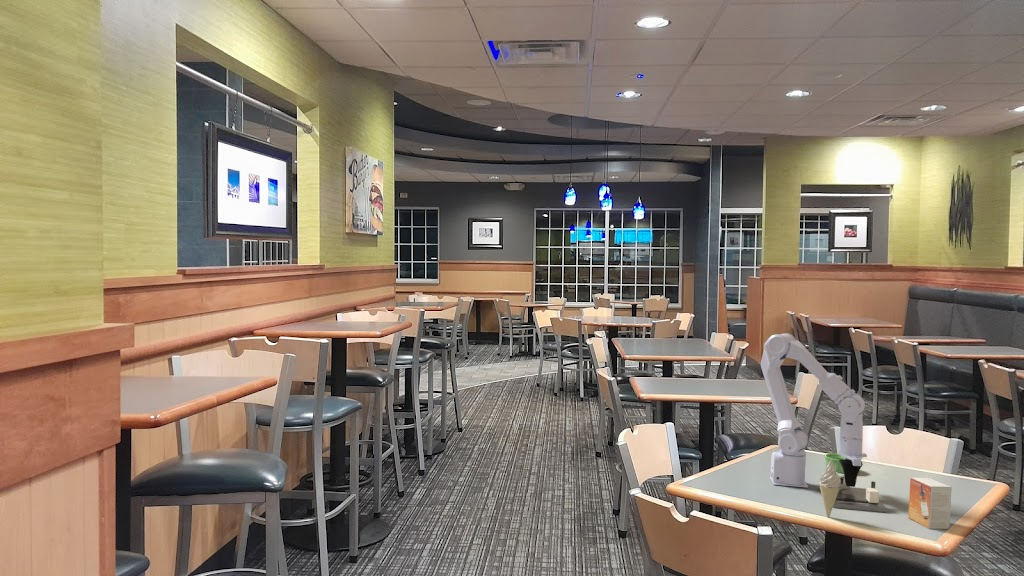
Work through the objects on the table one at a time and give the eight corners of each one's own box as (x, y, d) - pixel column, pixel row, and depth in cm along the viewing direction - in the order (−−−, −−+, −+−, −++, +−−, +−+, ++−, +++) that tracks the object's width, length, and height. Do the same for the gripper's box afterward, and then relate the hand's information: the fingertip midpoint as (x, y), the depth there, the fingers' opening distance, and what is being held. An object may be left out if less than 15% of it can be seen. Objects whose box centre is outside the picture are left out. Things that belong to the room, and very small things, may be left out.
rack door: (833, 491, 198) (833, 479, 198) (828, 490, 200) (828, 478, 199) (852, 486, 204) (852, 474, 204) (847, 485, 206) (848, 473, 205)
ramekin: (860, 475, 224) (860, 460, 224) (831, 473, 224) (832, 459, 224) (847, 467, 233) (847, 453, 233) (819, 466, 233) (820, 452, 233)
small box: (907, 518, 182) (909, 477, 182) (928, 518, 183) (930, 477, 183) (928, 529, 174) (930, 486, 174) (950, 529, 175) (952, 486, 175)
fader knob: (869, 502, 189) (869, 491, 189) (865, 498, 193) (866, 487, 193) (878, 503, 189) (879, 492, 189) (874, 499, 192) (875, 488, 192)
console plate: (832, 507, 189) (833, 486, 189) (818, 488, 207) (819, 468, 207) (886, 512, 186) (887, 490, 186) (867, 492, 204) (868, 473, 204)
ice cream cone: (837, 521, 177) (840, 461, 177) (815, 517, 180) (818, 458, 180) (840, 516, 182) (843, 457, 181) (819, 512, 184) (821, 454, 184)
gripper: (873, 443, 193) (872, 494, 193) (859, 433, 208) (859, 480, 208) (845, 441, 195) (844, 491, 195) (833, 432, 209) (832, 478, 209)
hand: (850, 485), depth 201 cm, fingers closed, pressing on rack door
